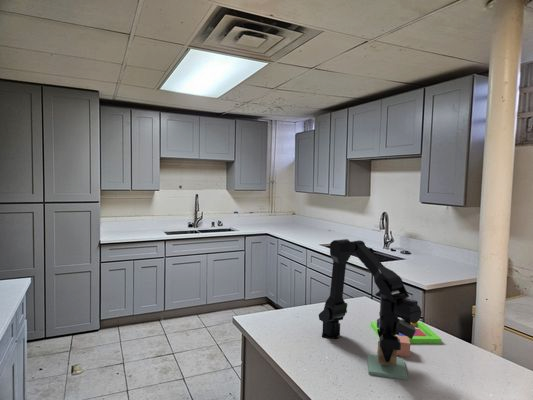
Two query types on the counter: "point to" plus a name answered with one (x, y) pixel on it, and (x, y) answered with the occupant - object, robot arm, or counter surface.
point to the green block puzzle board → (417, 334)
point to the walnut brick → (382, 359)
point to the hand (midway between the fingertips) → (386, 357)
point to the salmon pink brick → (404, 346)
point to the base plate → (386, 368)
